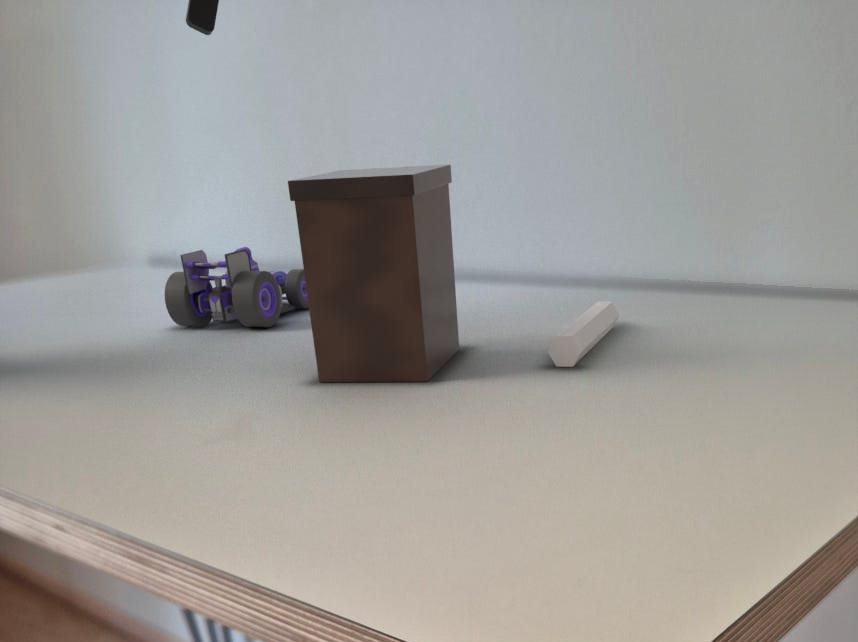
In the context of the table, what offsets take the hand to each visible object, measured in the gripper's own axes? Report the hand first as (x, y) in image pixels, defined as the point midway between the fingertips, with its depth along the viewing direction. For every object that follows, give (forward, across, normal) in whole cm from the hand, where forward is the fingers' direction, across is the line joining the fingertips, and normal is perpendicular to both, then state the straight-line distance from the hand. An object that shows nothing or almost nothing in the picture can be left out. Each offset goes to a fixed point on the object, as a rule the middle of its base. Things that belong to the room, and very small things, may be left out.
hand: (214, 3), depth 76 cm
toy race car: (+18, -14, +12) cm, 26 cm away
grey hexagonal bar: (+22, +19, +28) cm, 40 cm away
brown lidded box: (+27, +13, +14) cm, 34 cm away
